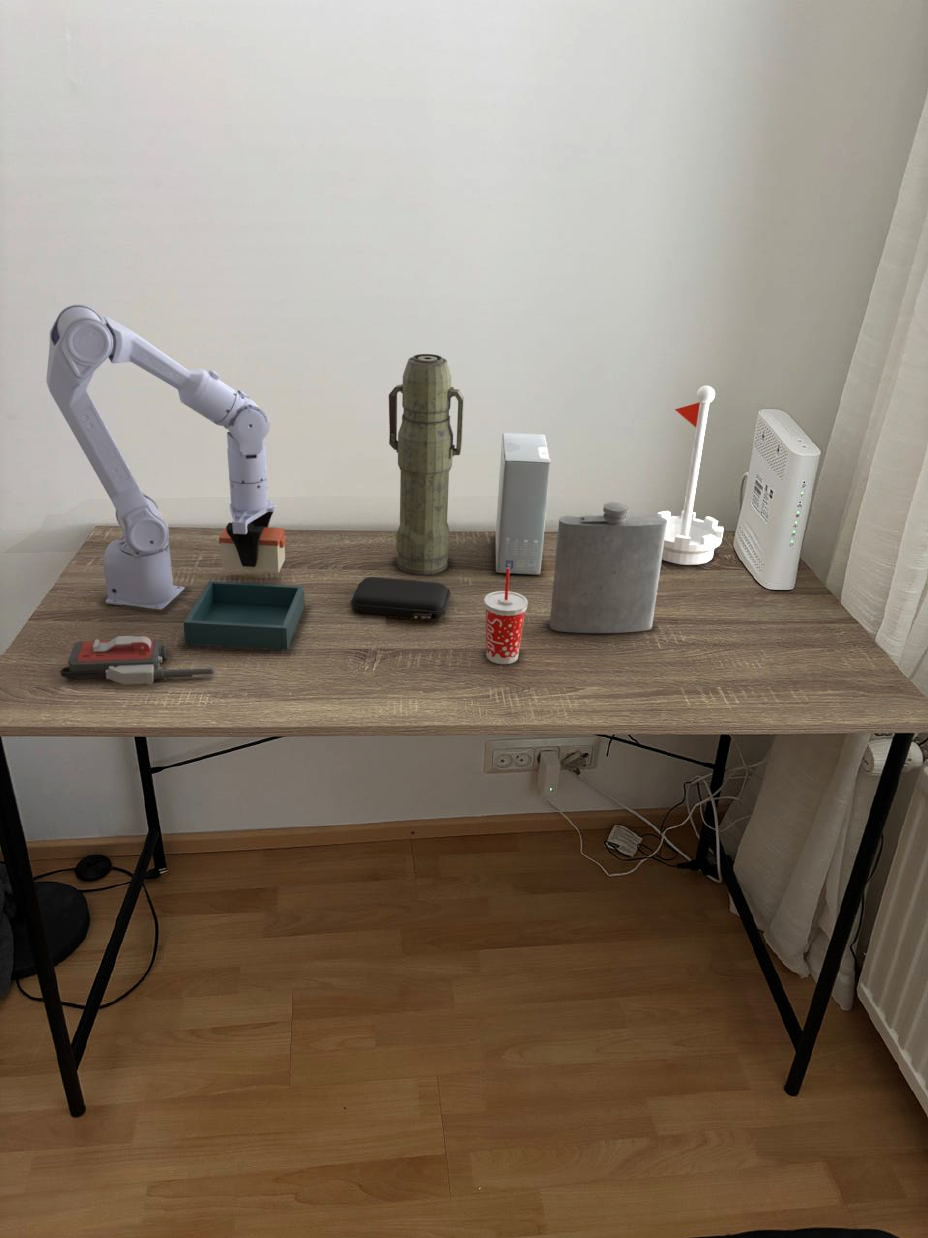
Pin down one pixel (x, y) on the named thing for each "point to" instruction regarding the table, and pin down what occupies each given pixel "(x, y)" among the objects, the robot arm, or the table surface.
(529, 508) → the hard drive box
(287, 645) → the tray
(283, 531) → the lunchbox
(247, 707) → the table surface
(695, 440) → the flag stand
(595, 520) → the hip flask
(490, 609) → the beverage cup
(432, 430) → the thermos
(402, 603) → the carrying case
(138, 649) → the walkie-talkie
